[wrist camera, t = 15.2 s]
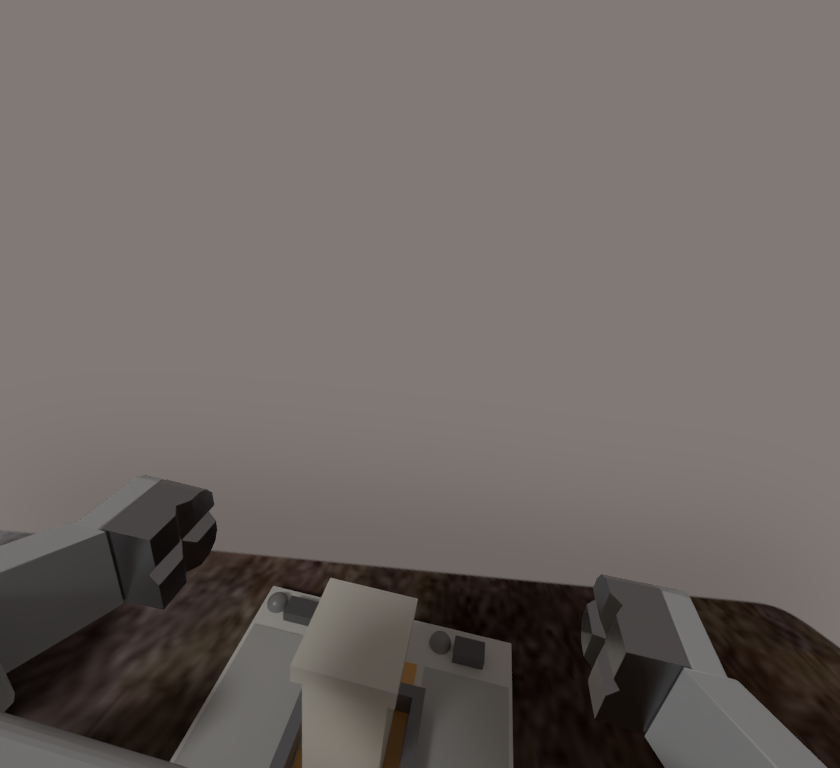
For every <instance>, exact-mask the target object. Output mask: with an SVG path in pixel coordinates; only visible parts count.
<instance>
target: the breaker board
mask: <svg viewBox="0 0 840 768" xmlns="http://www.w3.org/2000/svg"><path fill="white" fill-rule="evenodd" d="M320 599H321V597H317V596H313V595H309V594H304V593H300V592H296V591H292V590H288V589H284V588H280V587H275V586H273V587H272V589H271V591H270V593H269V594H268V596H267V598H266V599H265V601H264V603H263V604H262V606H261V608H260V609H259V611H258V613H257V615H256V616H255V618H254V620H253V621H252V623H251V625H250V626H249V628H248V630H247V631H246V633H245V635H244V637H243V638H242V640H241V642H240V643H239V645H238V647H237V648H236V650H235V652H234V653H233V655H232V657H231V659H230V660H229V662H228V664H227V665H226V667H225V669H224V670H223V672H222V674H221V675H220V677H219V679H218V681H217V682H216V684H215V686H214V687H213V689H212V691H211V692H210V694H209V696H208V697H207V699H206V701H205V703H204V704H203V706H202V708H201V709H200V711H199V713H198V714H197V716H196V718H195V720H194V721H193V723H192V725H191V726H190V728H189V730H188V731H187V733H186V735H185V736H184V738H183V740H182V742H181V743H180V745H179V747H178V748H177V750H176V752H175V753H174V755H173V757H172V758H171V760H170V762H171V763H175V764H178V765H182V766H185V767H188V768H302V684H299V683H295V682H291V681H290V665H291V663H292V660H293V658H294V656H295V654H296V652H297V649H298V647H299V645H300V643H301V641H302V639H303V636H304V634H305V632H306V630H307V628H308V625H309V623H310V621H311V619H312V617H313V615H314V612H315V610H316V608H317V606H318V604H319V602H320ZM383 768H513V715H512V651H511V643H507V642H503V641H499V640H495V639H491V638H487V637H482V636H478V635H474V634H470V633H466V632H462V631H458V630H454V629H449V628H445V627H441V626H437V625H433V624H429V623H425V622H420V621H416V620H414V623H413V628H412V632H411V637H410V641H409V646H408V651H407V655H406V660H405V664H404V669H403V674H402V678H401V683H400V688H399V692H398V697H397V701H396V706H395V710H394V713H393V720H392V727H391V732H390V736H389V741H388V746H387V750H386V755H385V760H384V764H383Z"/></svg>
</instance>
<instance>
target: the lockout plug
mask: <svg viewBox="0 0 840 768" xmlns="http://www.w3.org/2000/svg"><path fill="white" fill-rule="evenodd" d="M417 601H418V599H417V598H413V597H408V596H404V595H400V594H396V593H392V592H387V591H383V590H379V589H375V588H371V587H366V586H362V585H358V584H354V583H350V582H346V581H341V580H337V579H333V578H330V580H329V582H328V584H327V586H326V588H325V591H324V593H323V595H322V597H321V599H320V602H319V604H318V606H317V608H316V610H315V612H314V615H313V617H312V619H311V621H310V623H309V625H308V628H307V630H306V632H305V634H304V636H303V639H302V641H301V643H300V645H299V647H298V649H297V652H296V654H295V656H294V658H293V660H292V663H291V665H290V681H291V682H295V683H299V684H302V768H383V764H384V760H385V755H386V750H387V746H388V741H389V736H390V732H391V727H392V720H393V713H394V710H395V706H396V701H397V697H398V692H399V688H400V683H401V678H402V674H403V669H404V664H405V660H406V655H407V651H408V646H409V641H410V637H411V632H412V628H413V623H414V618H415V614H416V607H417Z"/></svg>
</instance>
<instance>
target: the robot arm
mask: <svg viewBox="0 0 840 768" xmlns="http://www.w3.org/2000/svg"><path fill="white" fill-rule="evenodd" d="M213 506H214V501H213V495H212V492H210V491H208V490H206V489H202V488H198V487H194V486H190V485H186V484H182V483H178V482H174V481H170V480H163V479H159V478H155V477H151V476H147V475H144V476H140V477H137V478H135V479H134V480H133V481H131V482H130V483H128V484H127V485H126V486H124V487H123V488H122V489H121V490H119V491H118V492H117V493H115V494H114V495H113V496H111V497H110V498H109V499H107V500H106V501H105V502H103V503H102V504H101V505H99V506H98V507H97V508H96V509H94V510H93V511H92V512H90V513H89V514H88V515H86V516H85V517H84V518H82V519H81V520H80V521H79V522H77V523H76V524H71V523H66V524H63V525H60V526H57V527H54V528H51V529H48V530H45V531H42V532H39V533H37V534H34V535H31V536H28V537H25V538H22V539H19V540H16V541H13V542H10V543H7V544H5V545H2V546H0V768H188V767H185V766H182V765H178V764H175V763H171V762H168V761H165V760H161V759H158V758H155V757H151V756H148V755H145V754H141V753H138V752H135V751H131V750H128V749H125V748H121V747H118V746H115V745H111V744H108V743H105V742H101V741H98V740H95V739H91V738H88V737H84V736H81V735H78V734H74V733H71V732H68V731H64V730H61V729H58V728H54V727H51V726H48V725H44V724H41V723H38V722H34V721H31V720H28V719H24V718H21V717H18V716H14V715H11V714H7V713H4V712H5V711H6V710H7V709H8V707H9V706H10V705H11V704H12V703H13V702H14V696H15V692H14V690H13V688H12V686H11V684H10V681H9V679H8V677H7V675H6V673H8V672H10V671H11V670H13V669H15V668H16V667H18V666H20V665H21V664H23V663H25V662H26V661H28V660H30V659H31V658H33V657H35V656H36V655H38V654H40V653H41V652H43V651H45V650H46V649H48V648H50V647H52V646H53V645H55V644H57V643H58V642H60V641H62V640H63V639H65V638H67V637H68V636H70V635H72V634H73V633H75V632H77V631H78V630H80V629H82V628H83V627H85V626H87V625H88V624H90V623H92V622H94V621H95V620H97V619H99V618H100V617H102V616H104V615H105V614H107V613H109V612H110V611H112V610H114V609H115V608H117V607H119V606H120V605H122V604H123V603H124V601H126V602H131V603H135V604H140V605H145V606H149V607H154V608H158V609H163V610H164V609H165V607H166V606H167V605H168V604H169V603H170V601H171V600H172V599H173V598H174V597H175V595H176V594H177V593H178V592H179V591H180V589H181V588H182V587H183V586H184V585H185V583H186V575H187V572H188V571H190V570H192V569H194V568H196V567H198V566H200V565H201V564H202V563H203V561H204V560H205V559H206V557H207V556H208V555H209V553H210V551H211V549H212V547H213V544H214V542H215V539H216V532H217V526H216V521H215V519H214V518H213V517H212V515H211V514H210V513H209V510H210V509H211V508H212V507H213ZM593 590H594V594H595V600H594V601H592V602H590V603H588V604H587V606H586V609H585V611H584V614H583V619H582V627H581V641H582V649H583V655H584V658H585V659H586V660H587V662H588V663H589V664H590V665H591V667H592V668H593V669H592V672H591V674H590V676H589V679H588V685H589V690H590V696H591V701H592V707H593V713H594V718H595V720H599V721H602V722H606V723H609V724H613V725H616V726H620V727H623V728H627V729H630V730H634V731H637V732H641V733H644V734H645V738H646V739H647V741H648V742H649V744H650V746H651V747H652V749H653V750H654V752H655V753H656V755H657V756H658V758H659V759H660V761H661V762H662V764H663V766H664V767H665V768H827V767H826V766H825V765H824V764H823V763H822V762H821V761H820V760H819V759H818V758H817V757H816V756H815V755H814V754H813V753H812V752H811V751H810V750H809V749H807V748H806V747H805V746H804V745H803V744H802V743H801V742H800V741H799V740H798V739H797V738H796V737H795V736H794V735H793V734H792V733H791V732H790V731H789V730H788V729H787V728H786V727H785V726H784V725H783V724H782V723H781V722H780V721H779V720H778V719H777V718H776V717H775V716H773V715H772V714H771V713H770V712H769V711H768V710H767V709H766V708H765V707H764V706H763V705H762V704H761V703H760V702H759V701H758V700H757V699H756V698H755V697H754V696H753V695H752V694H751V693H750V692H749V691H748V690H747V689H746V688H745V687H744V686H743V685H742V684H741V683H739V682H738V681H737V680H734V679H731V678H728V677H727V675H726V673H725V671H724V669H723V667H722V665H721V663H720V660H719V658H718V656H717V654H716V652H715V650H714V648H713V646H712V643H711V641H710V639H709V637H708V635H707V633H706V631H705V628H704V626H703V624H702V622H701V620H700V618H699V616H698V614H697V611H696V609H695V607H694V605H693V603H692V601H691V599H690V597H689V596H688V595H687V594H686V593H685V592H684V591H681V590H676V589H671V588H666V587H661V586H653V585H650V584H645V583H640V582H635V581H631V580H626V579H621V578H616V577H611V576H606V575H600V576H599V577H598V578H597V580H596V582H595V585H594V587H593Z"/></svg>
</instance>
